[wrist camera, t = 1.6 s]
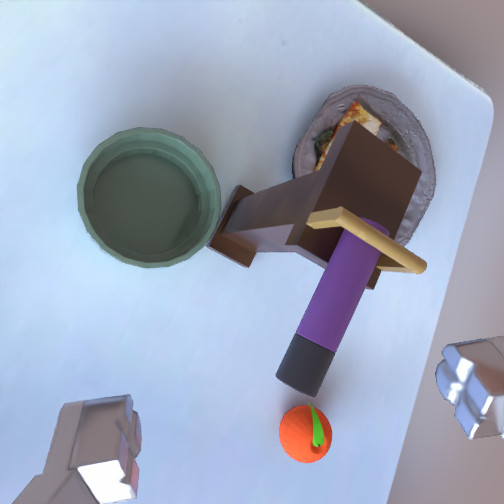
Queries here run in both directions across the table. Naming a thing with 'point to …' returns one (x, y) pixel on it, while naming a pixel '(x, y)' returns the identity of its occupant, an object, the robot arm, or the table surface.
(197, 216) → the bowl
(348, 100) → the food plate
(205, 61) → the table surface
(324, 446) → the clementine
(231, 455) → the table surface
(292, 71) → the table surface
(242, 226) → the stand
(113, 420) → the robot arm
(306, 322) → the glue stick
